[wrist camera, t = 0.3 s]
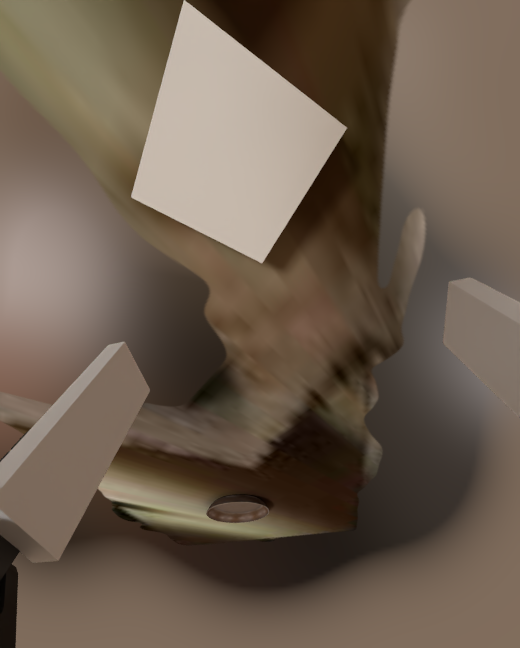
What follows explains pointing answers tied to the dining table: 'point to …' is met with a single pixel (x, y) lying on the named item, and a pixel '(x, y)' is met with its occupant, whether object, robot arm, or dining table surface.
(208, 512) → the plant saucer
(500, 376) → the robot arm
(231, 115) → the stand
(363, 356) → the dining table surface
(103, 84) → the dining table surface
